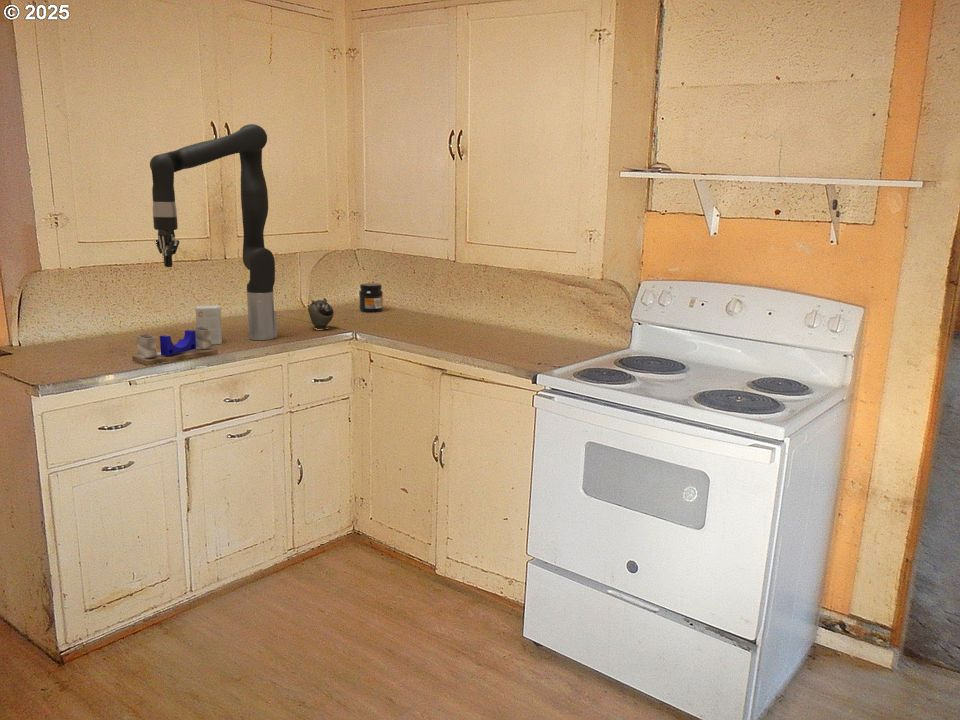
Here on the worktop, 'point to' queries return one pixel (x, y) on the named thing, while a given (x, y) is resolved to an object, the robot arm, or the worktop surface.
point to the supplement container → (371, 297)
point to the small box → (210, 321)
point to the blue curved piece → (178, 344)
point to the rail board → (151, 357)
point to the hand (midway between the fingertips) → (168, 266)
